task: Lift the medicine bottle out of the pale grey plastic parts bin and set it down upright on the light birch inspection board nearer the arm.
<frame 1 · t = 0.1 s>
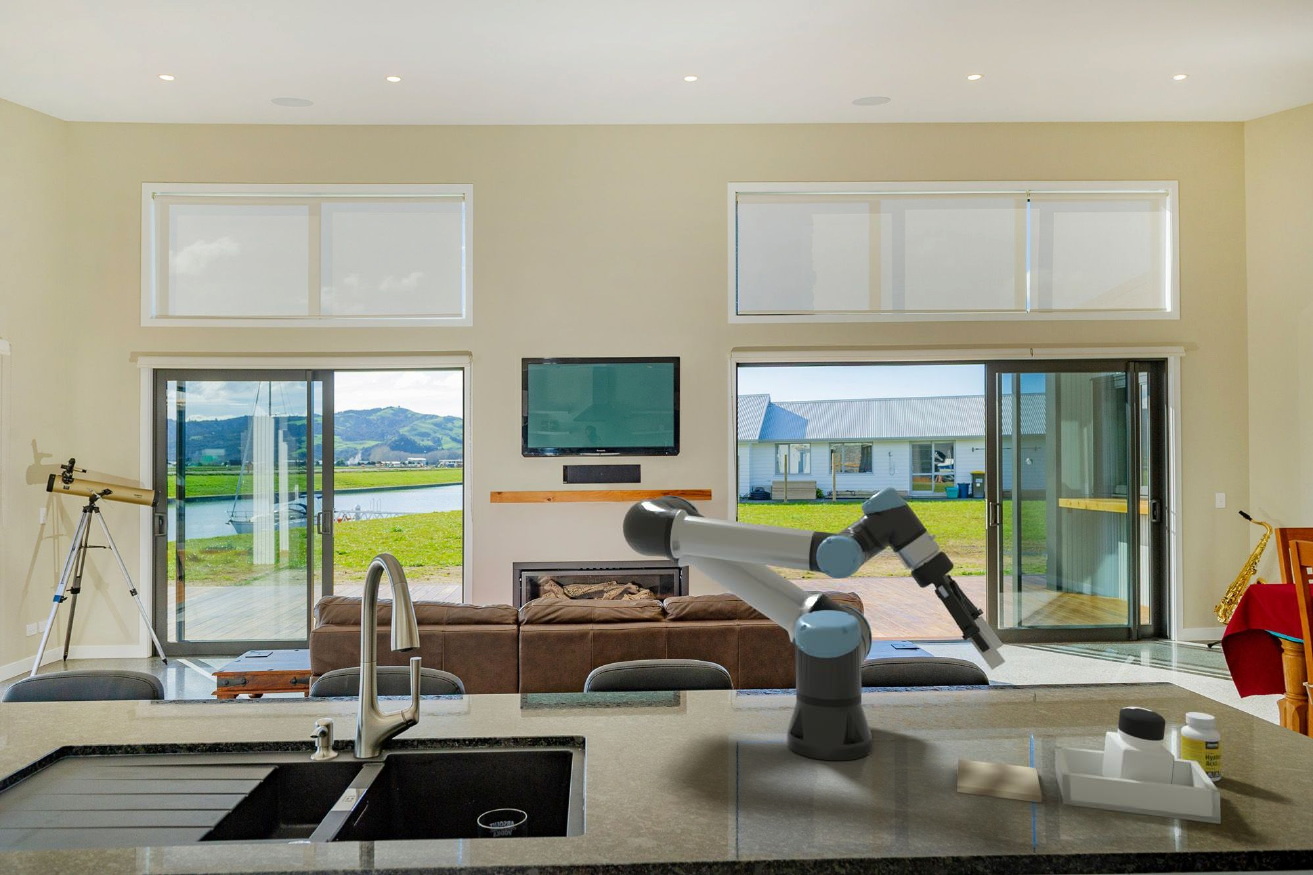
hand: (998, 656, 152), 15 cm above the counter, tool tilted 35°, fingers open, 13 cm apart
parts bin: (1131, 796, 126), on the counter
inspection board: (997, 782, 132), on the counter
medicine bottle: (1134, 789, 126), point 1 cm above the counter, touching parts bin
supplement bottle: (1201, 777, 134), on the counter
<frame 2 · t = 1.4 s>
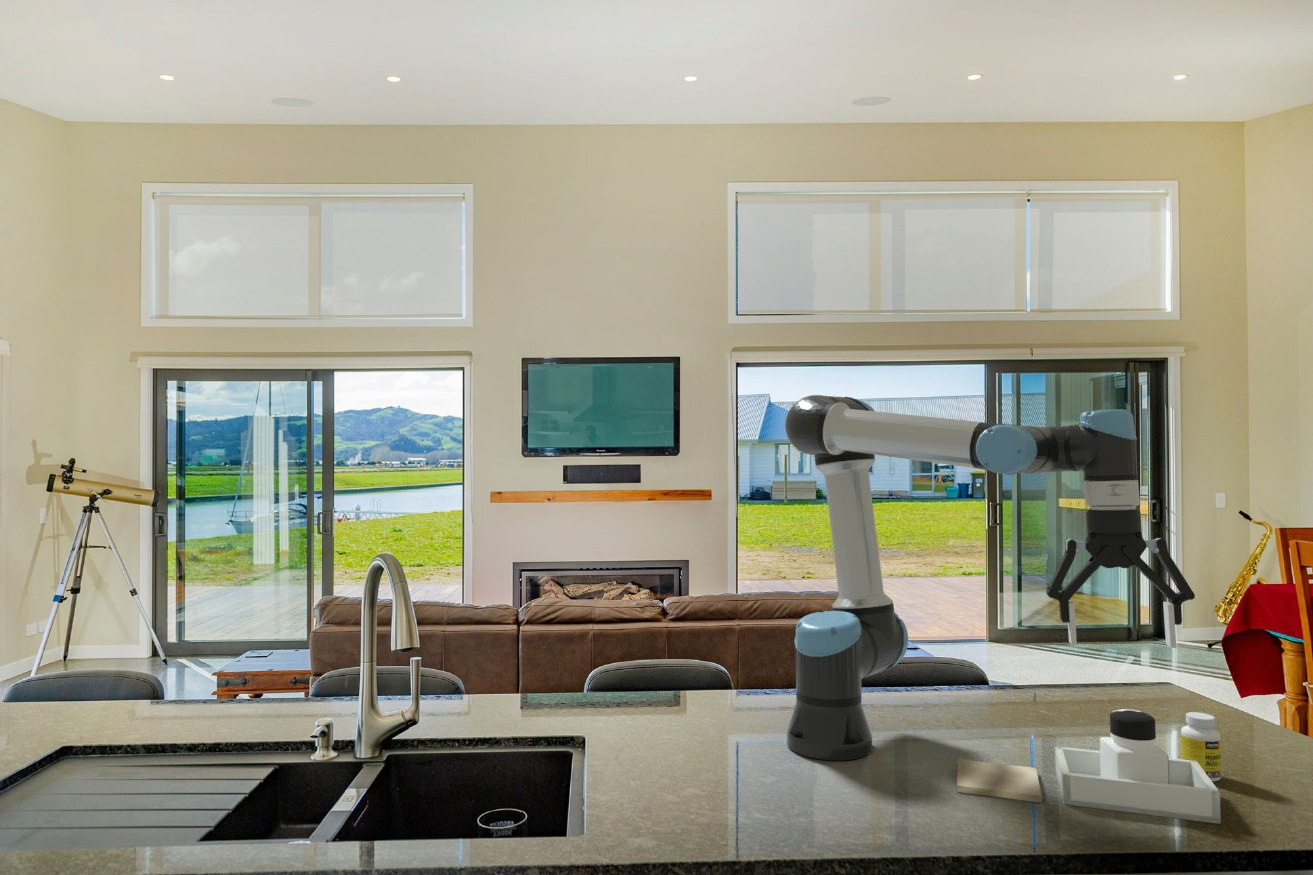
hand: (1121, 644, 128), 23 cm above the counter, tool pointing down, fingers open, 13 cm apart
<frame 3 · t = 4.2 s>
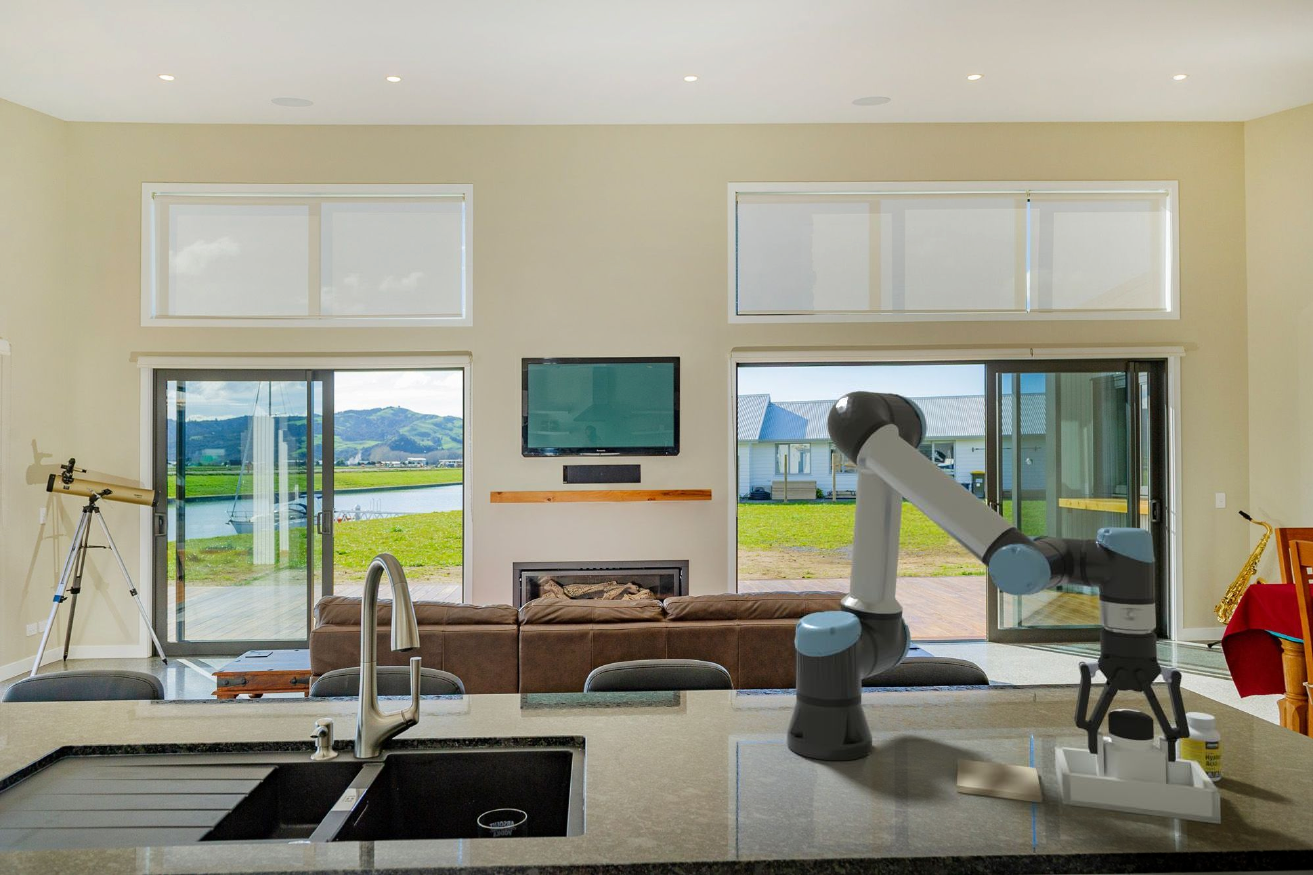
hand: (1131, 778, 126), 3 cm above the counter, tool pointing down, fingers closed on medicine bottle, 8 cm apart
medicine bottle: (1132, 792, 126), point 1 cm above the counter, touching gripper, parts bin
everything else where it was.
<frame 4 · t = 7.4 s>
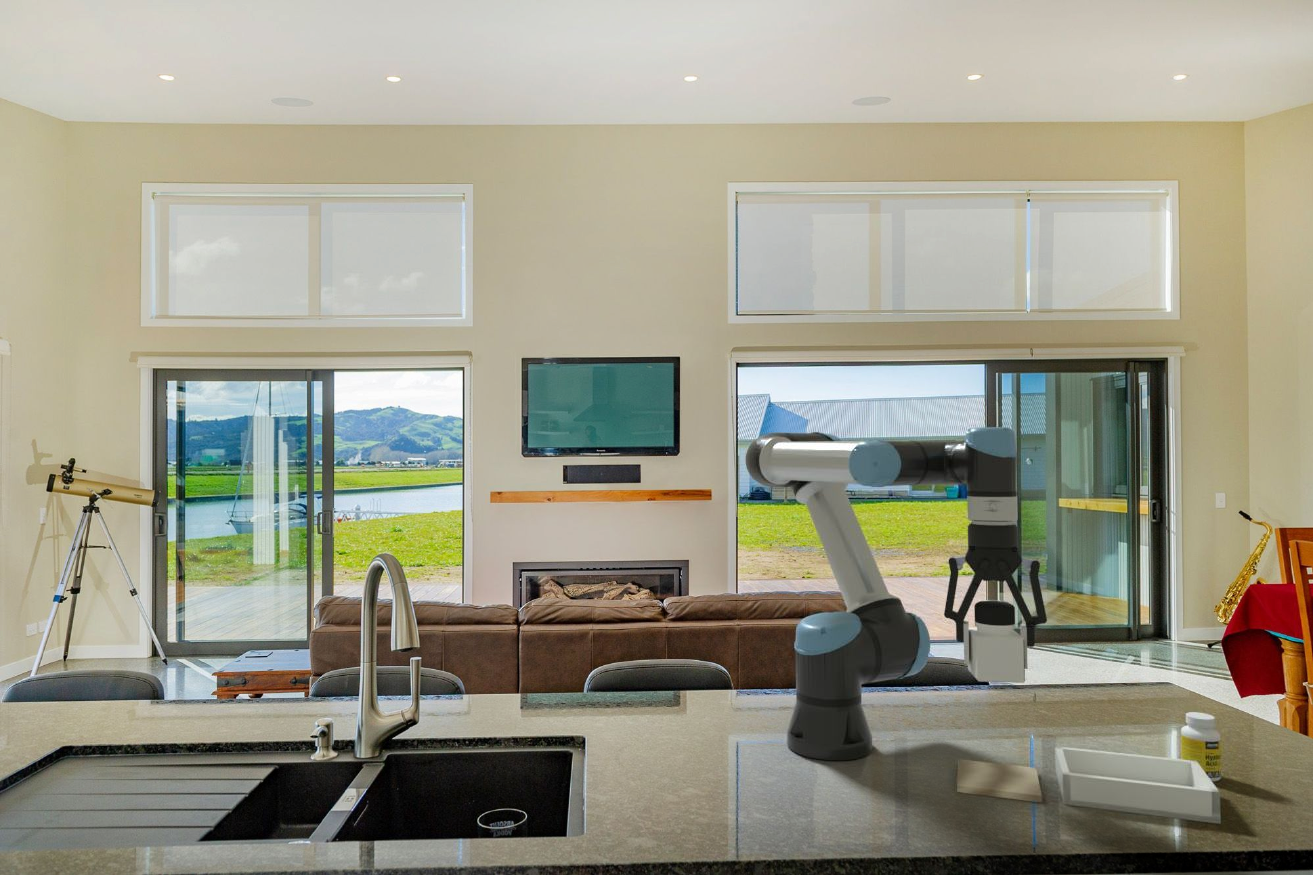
hand: (995, 664, 133), 19 cm above the counter, tool pointing down, fingers closed on medicine bottle, 8 cm apart
medicine bottle: (995, 678, 132), point 17 cm above the counter, touching gripper
everything else where it was.
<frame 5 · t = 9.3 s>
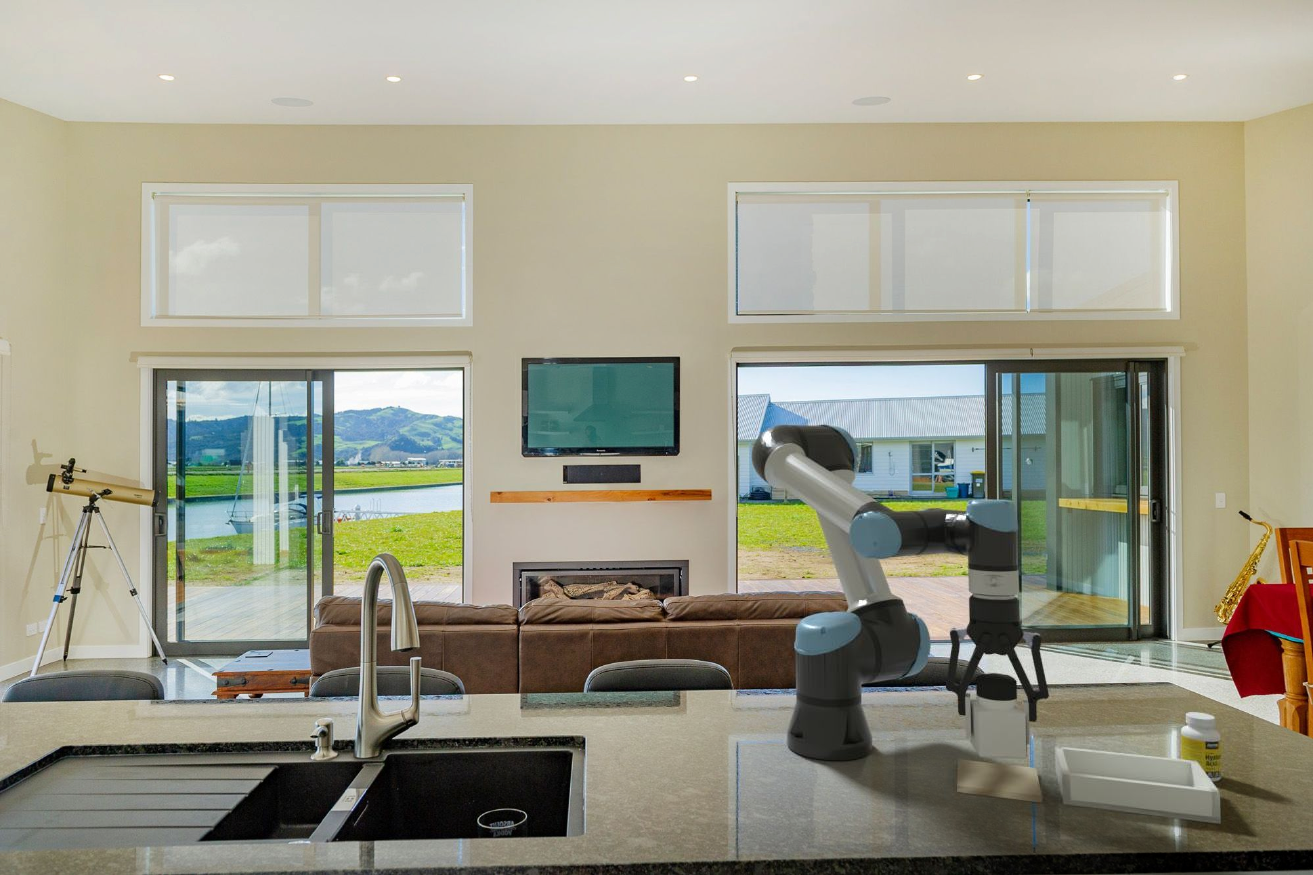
hand: (997, 738, 132), 7 cm above the counter, tool pointing down, fingers closed on medicine bottle, 8 cm apart
medicine bottle: (997, 752, 132), point 5 cm above the counter, touching gripper
everything else where it was.
when the fingers open (5 cm above the counter, at t = 10.7 s): medicine bottle drops 2 cm, resting on inspection board.
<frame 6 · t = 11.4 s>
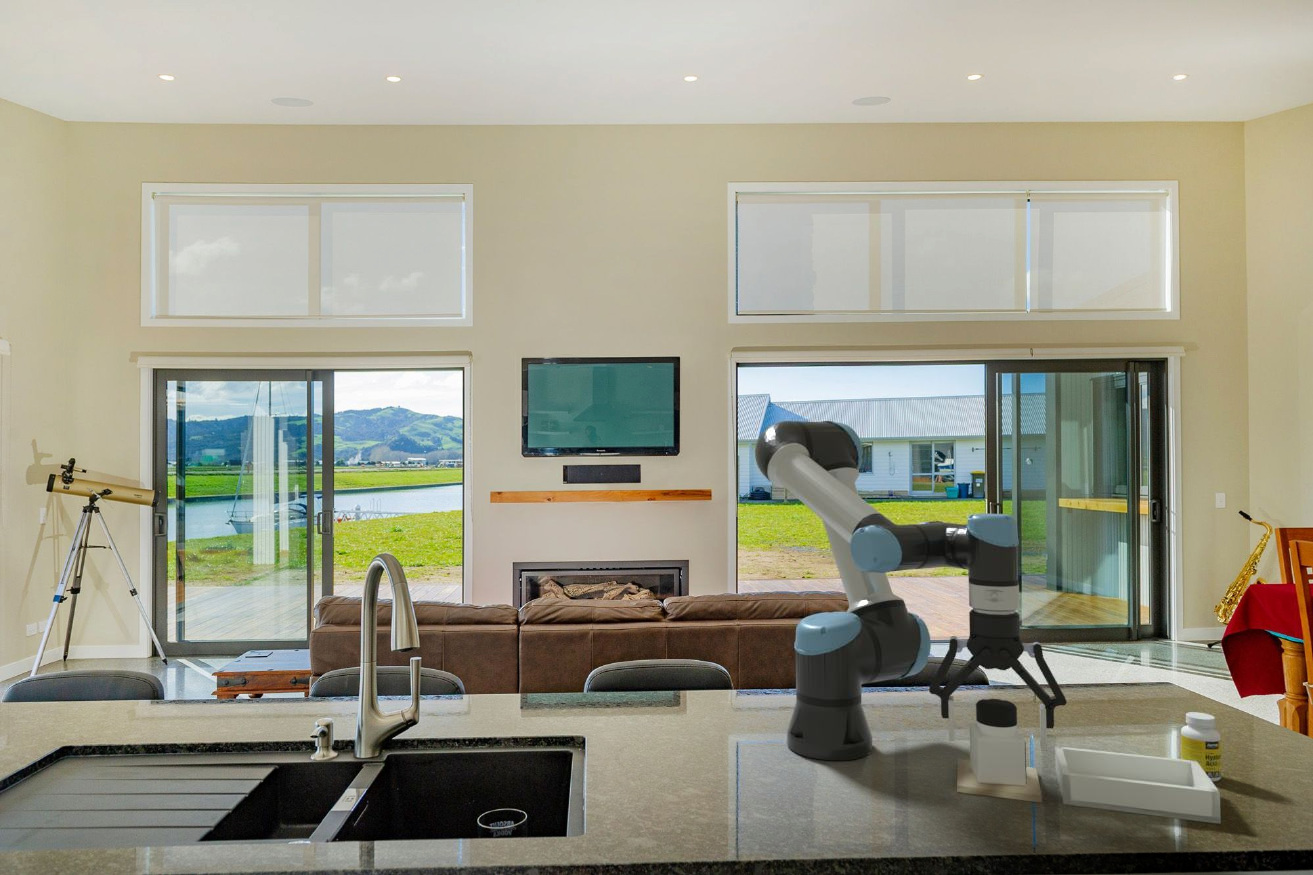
hand: (996, 743, 132), 6 cm above the counter, tool pointing down, fingers open, 13 cm apart
medicine bottle: (997, 777, 132), point 1 cm above the counter, touching inspection board
everything else where it was.
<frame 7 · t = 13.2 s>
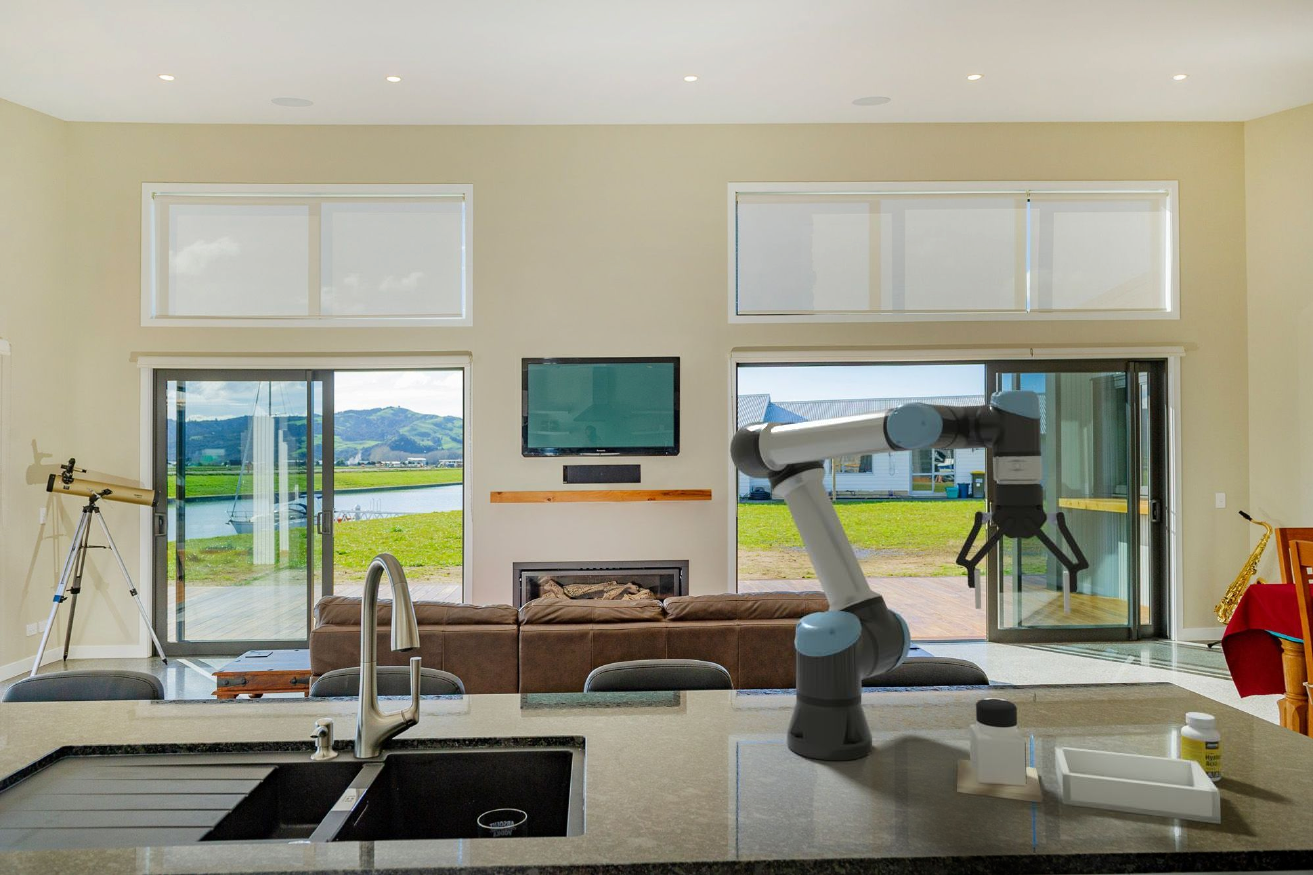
hand: (1022, 610, 138), 27 cm above the counter, tool pointing down, fingers open, 13 cm apart
nothing on the counter moved.
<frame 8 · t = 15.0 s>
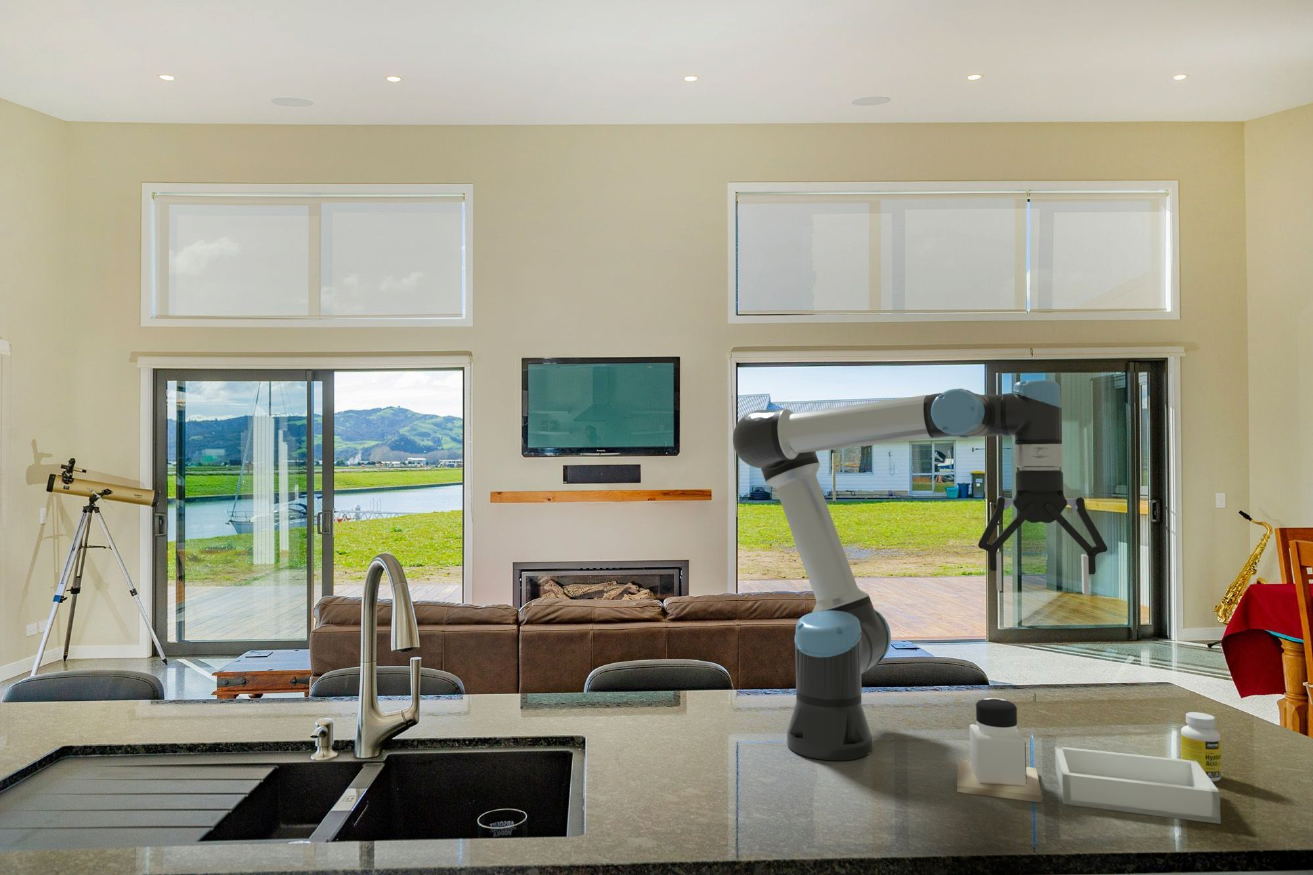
hand: (1041, 591, 143), 29 cm above the counter, tool pointing down, fingers open, 13 cm apart
nothing on the counter moved.
at the end: medicine bottle inside the target area on the inspection board (0.1 cm from its centre), point 0.8 cm above the inspection board's base; medicine bottle tilted 0°; the gripper is holding nothing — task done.
